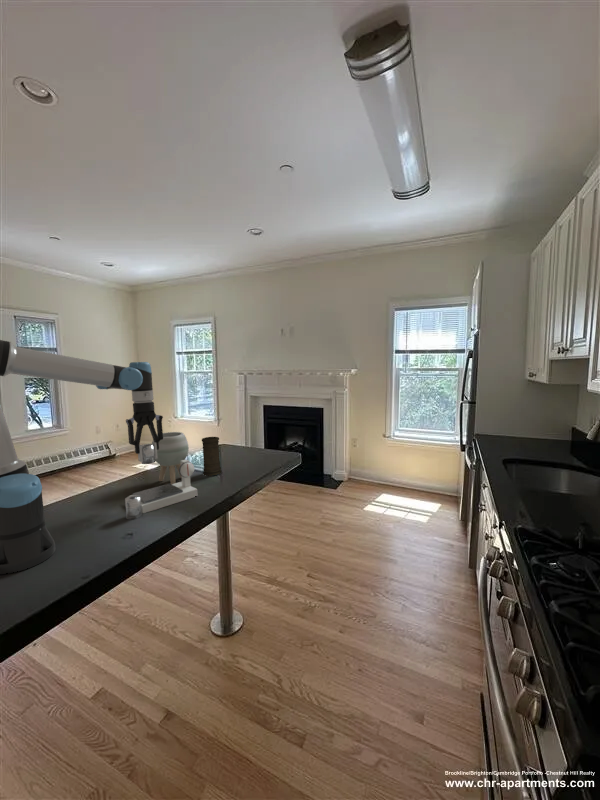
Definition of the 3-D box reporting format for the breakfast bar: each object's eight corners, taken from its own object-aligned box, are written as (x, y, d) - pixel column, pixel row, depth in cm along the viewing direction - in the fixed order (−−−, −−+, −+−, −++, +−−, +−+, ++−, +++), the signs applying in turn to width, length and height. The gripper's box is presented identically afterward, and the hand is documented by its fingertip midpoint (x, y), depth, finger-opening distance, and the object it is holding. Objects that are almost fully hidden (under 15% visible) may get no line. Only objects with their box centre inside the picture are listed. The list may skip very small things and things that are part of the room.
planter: (175, 489, 149) (171, 439, 147) (145, 485, 155) (142, 437, 152) (197, 477, 165) (194, 431, 162) (170, 474, 170) (167, 430, 167)
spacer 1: (129, 520, 119) (127, 501, 119) (124, 516, 123) (123, 497, 122) (144, 516, 123) (142, 497, 122) (138, 512, 127) (137, 493, 126)
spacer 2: (139, 462, 135) (138, 445, 134) (152, 459, 139) (150, 442, 138) (144, 464, 132) (142, 447, 131) (157, 462, 135) (155, 444, 134)
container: (219, 476, 165) (217, 440, 163) (200, 476, 165) (198, 440, 163) (223, 470, 174) (221, 436, 172) (206, 470, 174) (204, 436, 172)
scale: (142, 513, 125) (139, 476, 124) (129, 503, 135) (126, 468, 133) (202, 494, 142) (200, 462, 140) (186, 486, 152) (184, 456, 150)
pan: (144, 503, 126) (144, 501, 126) (133, 495, 135) (132, 493, 135) (182, 492, 137) (182, 490, 137) (169, 485, 145) (169, 483, 145)
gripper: (121, 404, 124) (127, 466, 126) (169, 399, 136) (174, 456, 139) (115, 403, 129) (120, 463, 131) (162, 398, 141) (166, 453, 144)
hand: (148, 459), depth 135 cm, fingers closed on spacer 2, 5 cm apart
